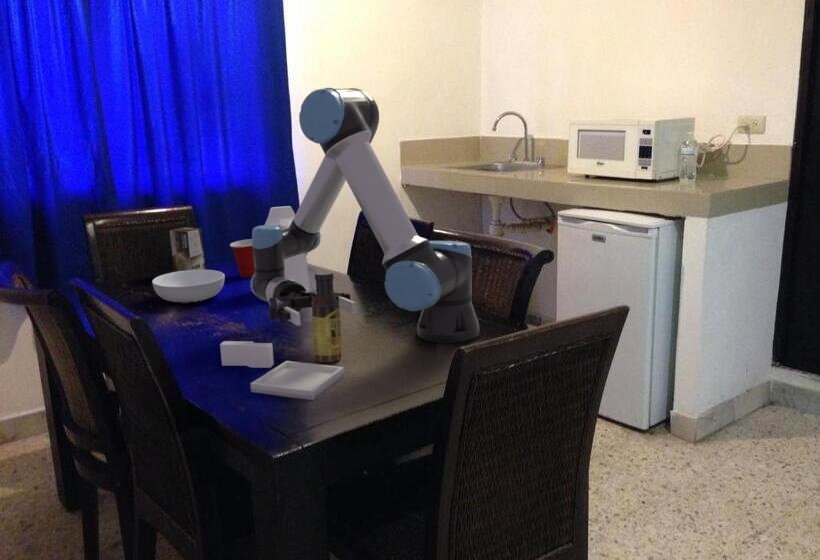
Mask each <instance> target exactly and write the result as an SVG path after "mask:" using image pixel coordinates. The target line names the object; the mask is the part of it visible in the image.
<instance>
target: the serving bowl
mask: <svg viewBox="0 0 820 560" xmlns="http://www.w3.org/2000/svg"><path fill="white" fill-rule="evenodd" d="M225 276H226V275H225V274H224V273H223V272H222V271H219V270H214V269H205V270H187V271H178V272H174V271H172V272H169V273H164V274H160V275H158V276H156V277H155V278H153V279H152V281H151V285H152V287H153V291H155V293H156V295H158V296H159V297H160V298H161V299H163V300H165V301H167V302H172V303H178V302H180V303H179V304H191V303H190V302H195V303H199V302H198V301H200V302H203V301H206V300H208V299H211V298H213V297H214V296H217V295H218V293H220V292H221V291H222V289H223V288H224V284H225V279H226V277H225ZM202 300H203V301H202Z"/></svg>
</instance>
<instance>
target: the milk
mask: <svg viewBox="0 0 820 560" xmlns="http://www.w3.org/2000/svg"><path fill="white" fill-rule="evenodd" d="M295 215H296V213H295V211H294V210H293V208H292V206H290V205H288V206H287V205H285V206H274V207H270V209H269V213H268V215H267V218H266V221H265V223H264V225H279V226H280V227H281V228H282V230H283V229H286V228H289V226H290V224H291V222H292V221H293V219H294V217H295ZM284 265H285V278H288V279H290V280H293V281H295V282H297V283H300V284H301V285H302V286H303V287H304V288H305V289H306V291H308V292H311V285H310V278H309V268H308V260H307V253H305V254H300V255H297V256H293V257H290V258H287V259H284Z"/></svg>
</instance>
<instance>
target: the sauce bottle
mask: <svg viewBox="0 0 820 560" xmlns="http://www.w3.org/2000/svg"><path fill="white" fill-rule="evenodd" d="M314 279H315V286H316V289H315V292H316V293H317V294H316V296H315V298H314V299H313V302H312V307H311V320H312V323H311V324H312V341H313V342H312V345H313V353H314V360H315V361H316V362H318V363H320V364H321V363H322V364H325V363H326V364H330V363H334V362H338V361H340V360H341V359H342V352H343V351H342V349H343V347H342V345H343V343H342V326H341V325H342V323H341V309H340V306H339V304H338V301H337V299H336V296H335V294H334V292H335V290H334V281H333V280H334V272H332V271H327V270H326V271H318V272H315V273H314Z"/></svg>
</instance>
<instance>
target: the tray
mask: <svg viewBox="0 0 820 560" xmlns="http://www.w3.org/2000/svg"><path fill="white" fill-rule="evenodd" d="M345 373H346V372H345V367H344V366H338V365H337V366H336V365H328V364H321V363H320V364H319V363H309V362H302V361H291V360H285V361H284V362H282V363H280V364H279V365H278V366H276V367H274V368H272V369H271V370H269V371H267V372H266V373H265V374H263V375H262V376H260V377H258V378H256V379H255V380H254V381H251V382H250V393H255V394H256V393H257V394H264V395H271V396H272V395H273V396H277V397H286V398H291V399H292V398H294V399H301V400H307V401H308V400H309V401H314V400H315V399H316V398H317V397H319V396H321V395H322V394H323V393H324V392H325V391H326V390H328V389H330V387H332V386H333V385H334V384H335V383H336V382H339V381H340V379H342V378H344V376H346V375H345Z"/></svg>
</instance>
